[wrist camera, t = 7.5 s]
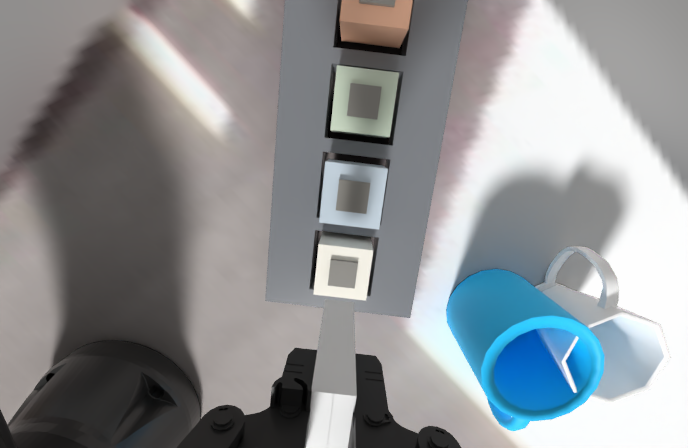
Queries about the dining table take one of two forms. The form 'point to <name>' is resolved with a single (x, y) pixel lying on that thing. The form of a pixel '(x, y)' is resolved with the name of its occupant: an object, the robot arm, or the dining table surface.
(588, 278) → the dining table surface
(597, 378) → the mug
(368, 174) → the key blue
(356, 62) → the grey board
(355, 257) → the key ivory
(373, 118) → the pale green square block
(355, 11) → the orange hollow cube
